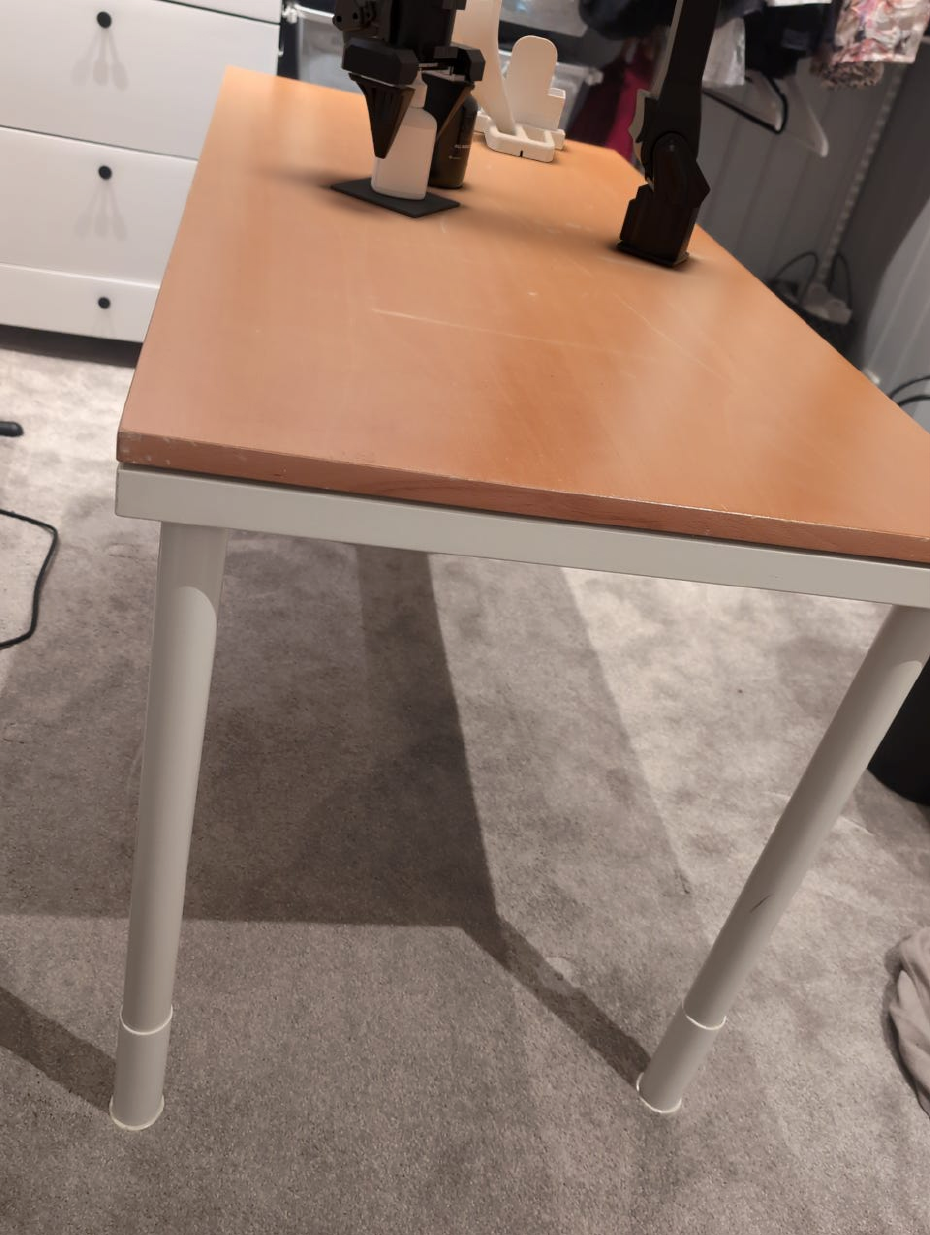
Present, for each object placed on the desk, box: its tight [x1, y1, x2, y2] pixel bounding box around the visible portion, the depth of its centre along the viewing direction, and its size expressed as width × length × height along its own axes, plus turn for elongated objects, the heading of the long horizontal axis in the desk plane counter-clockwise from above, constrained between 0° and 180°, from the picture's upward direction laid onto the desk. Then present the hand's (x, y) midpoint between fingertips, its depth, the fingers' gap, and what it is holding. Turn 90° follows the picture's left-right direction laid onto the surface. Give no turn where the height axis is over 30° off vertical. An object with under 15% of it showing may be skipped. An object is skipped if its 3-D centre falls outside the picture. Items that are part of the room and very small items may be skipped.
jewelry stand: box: [451, 0, 567, 163], centre depth 137 cm, size 25×16×25 cm, turn 91°
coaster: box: [329, 176, 461, 219], centre depth 107 cm, size 10×10×1 cm
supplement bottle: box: [427, 77, 479, 189], centre depth 113 cm, size 7×7×12 cm
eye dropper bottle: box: [371, 68, 437, 200], centre depth 103 cm, size 4×6×12 cm
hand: (403, 154), depth 104 cm, fingers open, 9 cm apart
